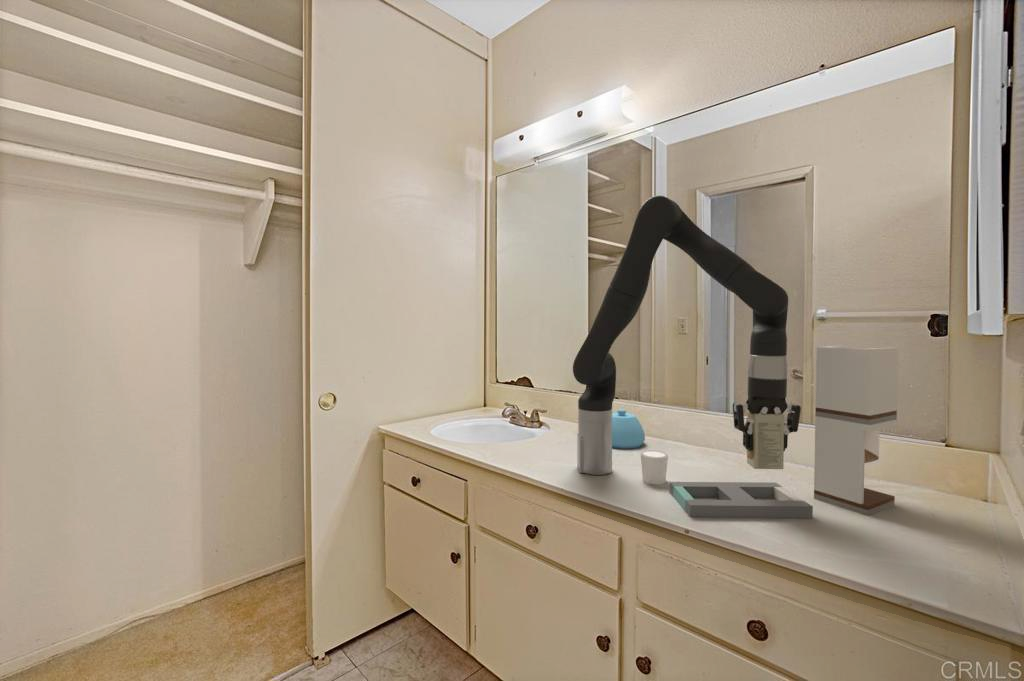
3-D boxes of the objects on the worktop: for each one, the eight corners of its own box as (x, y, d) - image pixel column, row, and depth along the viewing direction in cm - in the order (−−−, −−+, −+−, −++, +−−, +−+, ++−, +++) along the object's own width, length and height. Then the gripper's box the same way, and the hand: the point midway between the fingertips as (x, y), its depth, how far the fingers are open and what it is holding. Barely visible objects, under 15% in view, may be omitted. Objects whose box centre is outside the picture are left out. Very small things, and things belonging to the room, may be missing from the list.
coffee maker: (867, 515, 94) (871, 349, 93) (813, 498, 104) (816, 347, 102) (894, 505, 100) (898, 347, 98) (841, 489, 109) (844, 345, 108)
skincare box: (774, 463, 102) (776, 410, 102) (784, 470, 98) (786, 414, 97) (744, 462, 103) (746, 409, 102) (753, 469, 99) (755, 413, 98)
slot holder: (690, 517, 94) (690, 505, 94) (669, 492, 108) (669, 481, 108) (812, 518, 93) (812, 506, 93) (775, 492, 107) (775, 482, 107)
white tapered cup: (669, 478, 118) (669, 451, 118) (666, 486, 112) (666, 459, 111) (642, 474, 121) (642, 448, 121) (638, 482, 115) (638, 455, 114)
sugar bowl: (591, 444, 151) (590, 410, 151) (612, 435, 163) (612, 404, 162) (632, 452, 142) (632, 416, 141) (652, 442, 153) (652, 408, 153)
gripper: (742, 377, 96) (739, 454, 97) (811, 378, 95) (808, 455, 96) (726, 373, 103) (724, 444, 104) (790, 373, 103) (788, 445, 104)
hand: (764, 449), depth 100 cm, fingers closed on skincare box, 6 cm apart
